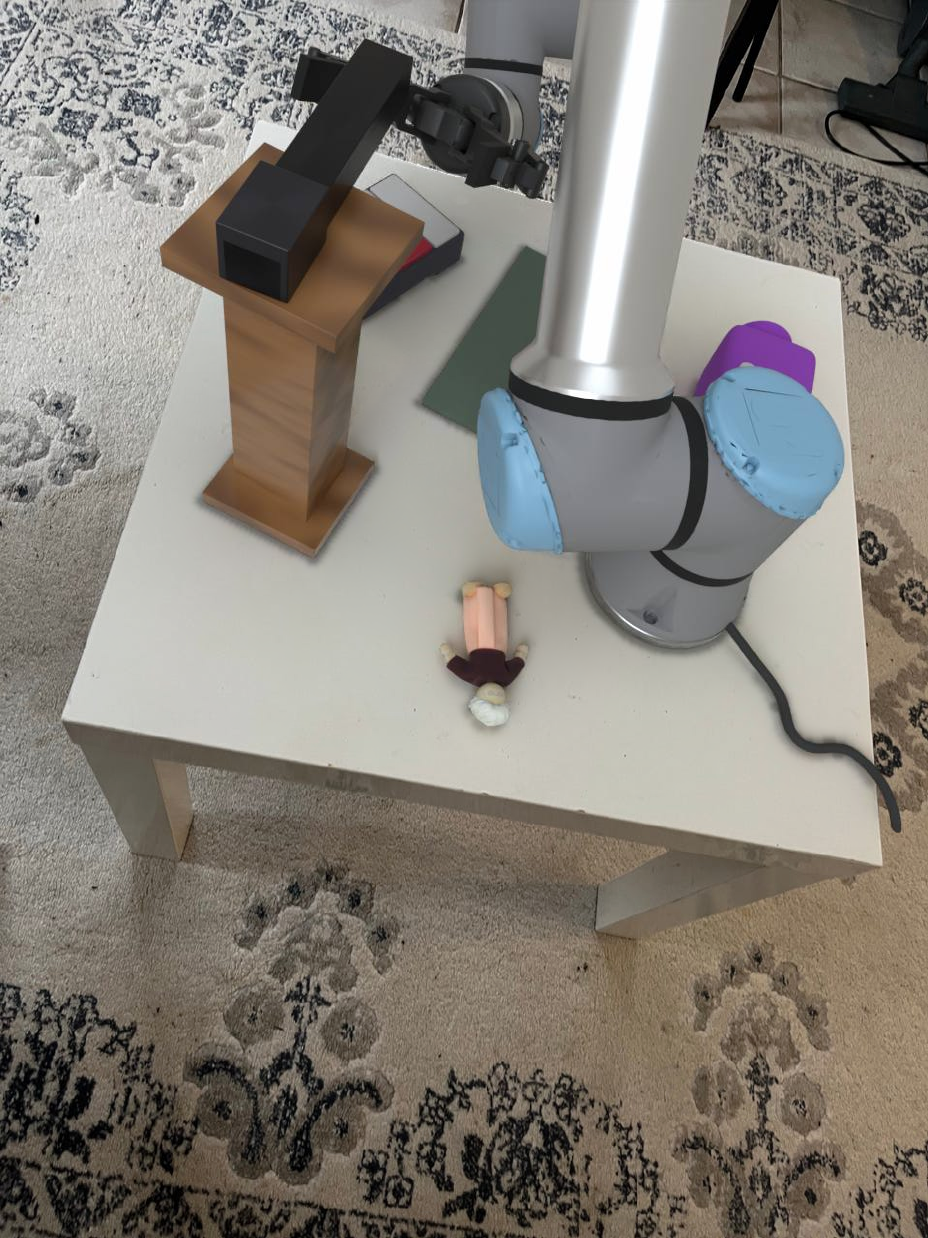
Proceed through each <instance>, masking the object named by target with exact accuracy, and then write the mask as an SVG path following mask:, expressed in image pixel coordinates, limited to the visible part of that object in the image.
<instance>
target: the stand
mask: <svg viewBox="0 0 928 1238" xmlns="http://www.w3.org/2000/svg"><path fill="white" fill-rule="evenodd" d="M284 152H285V150H281V149H280V148H278V147H275V146H273V144H270V143H267V142H266V141H265V142H263V143H262V144H260V146H259V147H257V148H256V150H255V151H253V152H252V154H251V155H249V156H248V158H247V159H245V160H244V161H243V163H242V164H240V166H239V167H238V168H237V169H236V170H235V171H233V172H232V174H231V175H230V176H228V177H227V179H226V180H225V181H224V182H223V183H222V184H221V185H220V186H219V187H218V188H217V189H215V191H214V192H213V193H212V194H211V195H210V196H209V197H208V198H206V200H205V201H204V202H203V203H202V204H201V205H200V206H199V207H198V208H197V209H196V210H195V211H193V213H192V214H191V215H190V216H189V217H188V218H187V219H186V220H185V221H184V222H183V223H182V224H180V226H179V227H178V228H177V229H175V231H174V232H173V233H172V234H170V236H169V237H168V238H167V239H165V241H164V242H163V243H162V244H161V245H160V246H159V254H160V261H161V266H162V267H163V268H165V269H167V270H169V271H170V272H173V273H175V274H176V275H179V276H181V277H182V278H185V279H187V280H188V281H190V282H192V283H194V284H196V285H198V286H200V287H203V288H204V289H206V290H208V291H210V292H212V293H214V294H216V295H218V296H220V297H222V304H223V305H222V306H223V321H224V333H225V335H224V336H225V350H226V365H227V378H228V379H227V380H228V381H227V382H228V394H229V409H230V423H231V424H230V426H231V440H232V454H231V455H230V456H229V457H228V459H227V460H226V461H225V462H224V464H223V465H222V466H221V468H220V469H219V470H218V471H217V473H216V474H215V475H214V477H212V479H211V480H210V482H209V483H208V485H207V486H206V487H205V488H204V489H203V490H202V492H201V494H202V501H203V503H205V504H207V505H209V506H211V507H213V508H215V509H216V510H219V511H221V512H223V513H225V514H226V515H229V516H230V517H232V518H234V519H236V520H238V521H240V522H242V523H244V524H246V525H248V526H250V527H251V528H253V529H256V530H257V531H259V532H261V533H263V534H265V535H267V536H269V537H271V538H272V539H274V540H277V541H279V542H280V543H283V544H284V545H286V546H289V547H290V548H292V549H294V550H296V551H297V552H300V553H301V554H304V555H306V556H308V557H309V558H312V559H313V560H314V559H316V557H317V556H318V554H319V552H320V551H321V549H322V548H323V546H324V545H325V543H326V542H327V540H328V539H329V537H331V534H332V533H333V532H334V530H335V529H336V527H337V525H338V524H339V522H340V520H341V519H342V518H343V517H344V515H345V514H346V512H347V511H348V510H349V508H350V506H351V504H352V503H353V502H354V500H355V499H356V497H357V496H358V494H359V493H360V491H361V489H362V488H363V487H364V485H365V484H366V482H367V481H368V479H369V478H370V476H371V475H372V474H373V472H374V466H375V461H374V460H373V459H372V458H371V459H370V458H368V457H367V456H364V455H363V454H360V453H359V452H357V451H355V450H353V449H351V448H349V447H348V441H349V432H350V424H351V415H352V409H353V408H352V407H353V399H354V392H355V390H354V389H355V383H356V373H357V368H358V367H357V366H358V359H359V349H360V340H361V334H362V333H361V332H362V326H363V320H362V317H363V316H364V315H365V314H366V312H367V311H368V310H369V308H370V307H371V306H372V304H373V303H374V302H375V301H376V299H377V298H378V297H379V295H380V294H381V293H382V291H383V290H384V289H385V287H386V286H387V285H388V284H389V282H390V281H391V280H392V278H393V277H394V276H395V274H396V273H397V272H398V270H399V269H400V268H401V267H402V265H403V264H404V263H405V261H406V260H407V259H408V257H409V256H410V255H411V254H412V252H413V251H414V250H415V248H416V247H417V246H418V244H419V243H420V242H421V240H422V236H423V231H424V225H425V222H424V221H422V220H420V219H418V218H416V217H414V216H412V215H410V214H408V213H406V212H404V211H402V210H400V209H398V208H396V207H394V206H392V205H390V204H388V203H386V202H384V201H382V200H380V199H378V198H376V197H374V196H372V195H370V194H368V193H366V192H364V191H363V189H360V188H357V187H355V186H353V187H352V189H351V190H350V192H349V194H348V195H347V197H346V198H345V200H344V202H343V203H342V205H341V207H340V208H339V210H338V211H337V213H336V215H335V216H334V218H333V219H332V221H331V223H330V224H329V226H328V227H327V233H326V242H325V244H324V245H323V247H322V249H321V250H320V252H319V253H318V255H317V257H316V258H315V260H314V262H313V263H312V265H311V266H310V268H309V270H308V271H307V273H306V275H305V276H304V278H303V279H302V281H301V283H300V284H299V286H298V287H297V289H296V291H295V292H294V294H293V296H292V297H291V299H290V300H289V302H288V303H284V302H282V301H278V300H276V299H273V298H271V297H268V296H266V295H263V294H261V293H258V292H256V291H253V290H251V289H248V288H246V287H243V286H241V285H238V284H236V283H233V282H231V281H228V280H226V279H224V278H221V277H220V276H219V268H218V253H217V239H216V224H215V222H216V220H217V219H218V218H219V216H220V215H221V213H222V212H223V211H224V209H225V208H226V207H227V205H228V204H229V202H230V201H231V200H232V198H233V197H234V195H235V194H236V193H237V191H238V190H239V189H240V187H241V186H242V184H243V183H244V182H245V180H246V179H247V178H248V176H249V175H250V173H251V172H252V171H253V169H254V168H255V166H256V165H257V164H258V162H259V161H260V160H262V161H265V162H267V163H270V164H272V165H275V164H276V163H277V162H278V160H279V159H280V157H281V156H282V154H283V153H284Z"/></svg>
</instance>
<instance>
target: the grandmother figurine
mask: <svg viewBox="0 0 928 1238" xmlns="http://www.w3.org/2000/svg"><path fill="white" fill-rule="evenodd" d="M513 589H514V587H513V585H512V584H510V583H507V582H497V583H495V584H493V585H491V587H488V586H485V583H483V582H480V581H468V582H465V583H463V584H462V586H461V595H462V598H463V600H462V606H463V607H462V609H463V614H462V621H463V622H462V623H463V632H464V643H465V648H466V652H467V655H468V657H469V660H467V659H465V658H464V657H462V656H461V655H457V653H456V652H455V651H453V647H452V645H451V644H450V643H449V642H443V643H441V644H440V646H439V651H440V653H441V654H442V655H443V659H444V661H445V663H446V668H447V669H448V670H450V672H452V673H453V674H454V675H455V676H456V677H458V678H459V679H460V680H462V681H463V682H466V683H467V684H468V683H469V684H471V685H472V686H473V687H477V688H478V689H477V690H476V692H475V695H474V696H473V697H472V698H471V699H470V701H469V704H467V706H468V708H469V709H470V711H471V713H472V715H473V716H474V717H475V719H476V720H478V721H480V722H481V723H482V724H483V725H485V726H487V727H495V726H501V725H504V724H505V723H506V722H507V721H508V719H509V718H510V716H511V707H510V704H509V702H508V697H507V693H506V691H505V688H507V687H508V686H510V685H511V684H512V683H513V682H514V681H515V680H516V679H517V678H518V676H519V675H520V673H521V672H522V671H523V669H524V668H525V666H526V661H527V659H528V658H527V656H528V654H529V652H530V647H529V646H528V644H525V643H521V644H519V645H518V646H517V648H516V652H515V654H514V656H513V658H510V659H506V655H507V652H508V650H509V649H508V648H509V647H508V646H509V634H508V607H507V606H508V605H507V600H506V598H508V597H509V596H510V595H512V592H513Z"/></svg>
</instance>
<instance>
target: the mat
mask: <svg viewBox="0 0 928 1238" xmlns="http://www.w3.org/2000/svg"><path fill="white" fill-rule="evenodd" d="M546 256H547V255H546V254H543V253H541V252H539V251H537V250H535V249H533V248H531V247H529V246H527V245H525V246H524V248H523V249H522V251H521V252H520V254H519V255H518V257H517V258H516V260H515V261H514V262H513V264H512V265H511V266H510V269H508V271H507V273H506V275H505V276H504V278H503V279H502V281H501V282H500V284H499V285H498V287H497V288H496V290H495V291H494V293H493V294H492V296H491V297H490V299H489V300H488V301H487V303H486V305H485V306H484V308H483V309H482V311H481V312H480V313H479V315H478V317H477V318H476V319H475V320H474V323H473V324H472V326H471V327H470V329H469V330H468V332H467V333H466V335H465V336H464V337H463V339H462V340H461V342H460V344H458V347H457V348H456V350H455V351H454V352H453V354H452V356H451V357H450V359H449V360H448V361H447V363H446V365H445V366H444V367H443V369H442V371H441V372H440V374H439V375H438V377H437V378H436V379H435V381H434V383H433V384H432V386H431V387H430V389H429V390H428V392H427V393H426V394H425V396H424V397H423V399H422V400H421V406H422V407H424V408H427V409H429V410H431V411H433V412H435V413H436V414H439V415H441V416H443V417H445V418H447V419H448V420H450V421H453V422H455V423H457V424H458V425H460V426H462V427H464V428H466V429H468V430H470V431H472V432H474V433H476V434H477V421H478V413H479V409H480V407H481V400H482V398H483V396H484V395H485V394H486V393H487V392H488V391H493V390H495V389H496V388H502V389H505V390H506V389H507V387H508V381H509V373H510V365H511V361H512V358H513V357H514V356H516V355H517V354H518V353H519V352H521V351H522V350H523V349H524V348H526V347H527V346H528V345H529V344H531V343H532V341H533V340H534V339H535V337H536V332H537V324H538V317H539V309H540V302H541V294H542V286H543V279H544V271H545V264H546Z"/></svg>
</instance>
